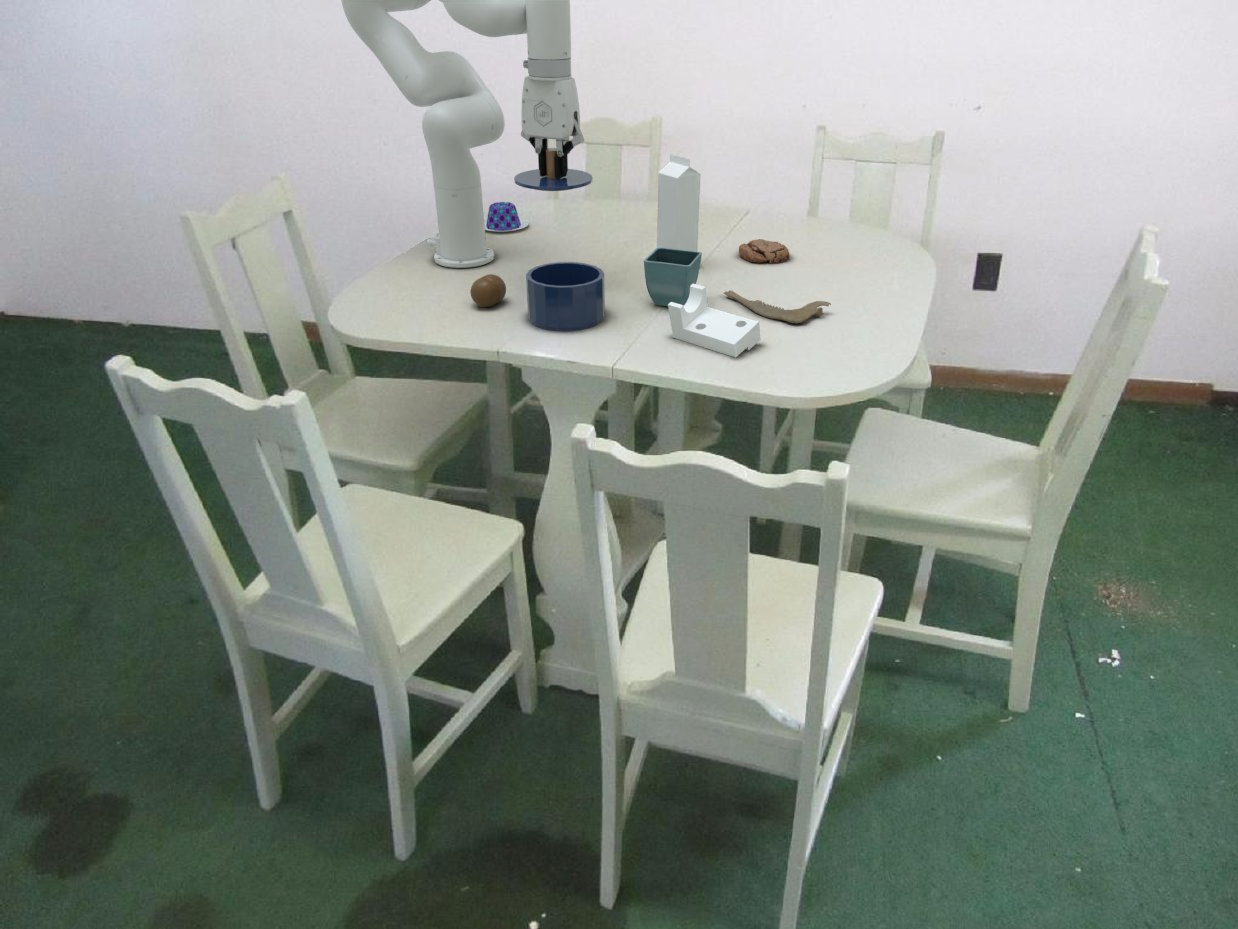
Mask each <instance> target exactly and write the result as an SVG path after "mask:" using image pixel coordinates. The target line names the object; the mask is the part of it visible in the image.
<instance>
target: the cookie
mask: <svg viewBox="0 0 1238 929" xmlns="http://www.w3.org/2000/svg"><path fill="white" fill-rule="evenodd" d="M738 255H739V257H740V258H742V259H744V260H745V261H748V262H750V263H757V264H759V263H760V264H762V263H769V264H780V263H782V262H786V261H788V260H789V258H790V251H789V248H788V247H787V245H785V244H783V243H781V242H778V241H774V240H773V241H772V240H766V239H762V238H759V239H757V238H756V239H752V240H749V242H747V243H742V244H740V245H739V246H738Z"/></svg>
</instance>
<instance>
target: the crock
mask: <svg viewBox="0 0 1238 929" xmlns="http://www.w3.org/2000/svg"><path fill="white" fill-rule="evenodd" d="M525 287H526V303H527V317H528V320H529V323H531V324H532V325H533V326H535V327H537V328H539V329H542V330H547V331H554V332H576V331H582V330H588V329H591V328H594V327H596V326H599V325H600V324H601V323H602V322H603V321H604V319H605V314H606V300H605V299H606V298H605V297H606V291H605V290H606V288H605V272H604V270H602V268H600V267H598V266H596V265H593V264H590V263H586V262H578V261H556V262H550V263H544V264H540V265H537V266H535V267H533V268H531V269H529V270H528V271H527V273H526V274H525Z"/></svg>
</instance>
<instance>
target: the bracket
mask: <svg viewBox="0 0 1238 929" xmlns="http://www.w3.org/2000/svg"><path fill="white" fill-rule="evenodd" d="M708 303H709V302H708V296H707V287H706V286H704V285H700V284H697V283H696V284H692V285H691V286H690V294H689V298H688V300H687V301H686V302H685V303H684V305H681V304H677V303H674V302H670V303H669V304H668V306H667V308H668V316H669V322H670V327H671V333H672V338H673V339H677V340H679V341H683V342H686V343H689V344H692V345H695V346H698V347H701V348H705V349H708V350H711V351H714V352H716V353H720V354H723V355H727V356H729V357H732V358H738V357H739V355H741V353H743V351H748V352H749V351H750V350H751V349H752V348H753V347H755V345H757V344H758V343H759V342H760V341H761V339H762V338H761V329H760V328H761V327H760V321H757V320H755V319H751V318H747V317H743V316H740V315H737V314H734V313H729V312H728V311H727V312H726V311H723V310H720V309H716V308H713V307H709V304H708Z"/></svg>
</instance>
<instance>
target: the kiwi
mask: <svg viewBox="0 0 1238 929" xmlns="http://www.w3.org/2000/svg"><path fill="white" fill-rule="evenodd" d="M506 293H507V285H506V283H505V281H504V279H502V277H501V276H500V275H497V274H492V273H489V274H485V275H483V276H481V277H479V278H478V279H475V281H473V283H472V285H471V287H470V297H471V299H472V301H473V303H474V304H476V305H477V306H479V307H481V308H490V307H493V306H494V305H496V304H498V303H500V302H501V301H503V299H504V297H505V296H506Z"/></svg>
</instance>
